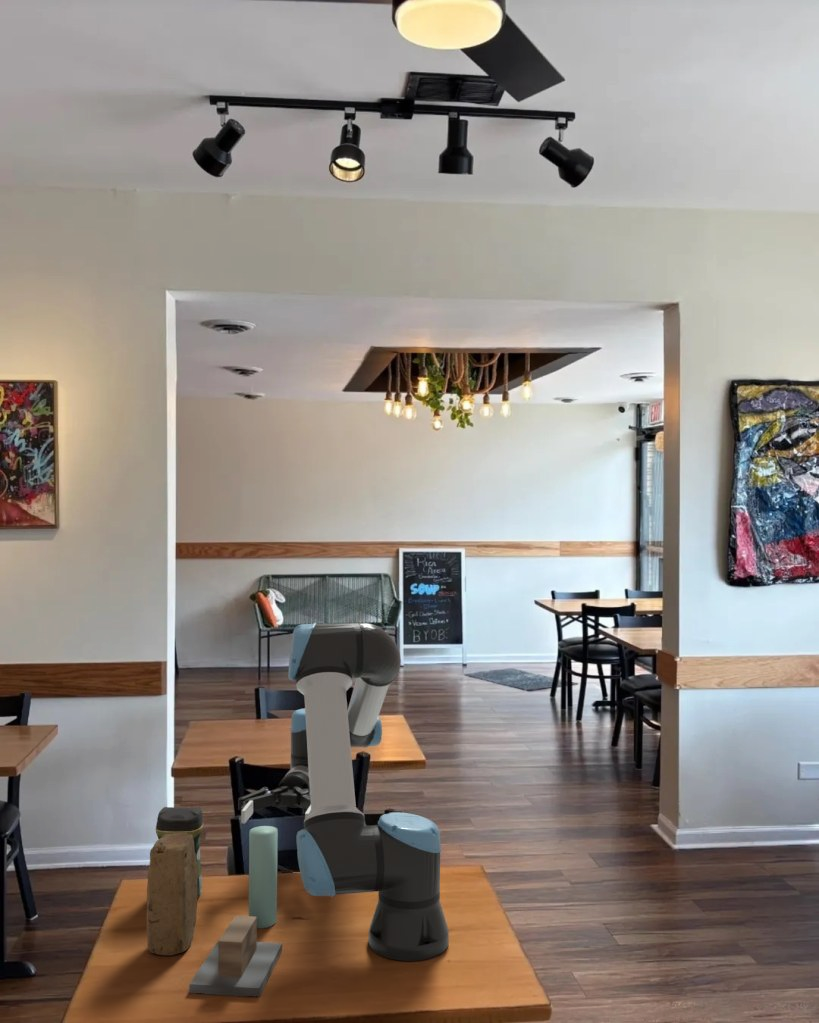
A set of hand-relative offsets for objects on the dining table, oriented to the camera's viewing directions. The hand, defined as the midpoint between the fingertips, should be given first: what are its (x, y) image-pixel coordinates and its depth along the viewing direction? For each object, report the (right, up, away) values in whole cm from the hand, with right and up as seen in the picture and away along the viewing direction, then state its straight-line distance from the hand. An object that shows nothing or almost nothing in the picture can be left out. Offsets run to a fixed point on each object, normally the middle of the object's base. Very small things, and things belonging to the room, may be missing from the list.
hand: (274, 818), depth 188 cm
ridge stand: (-2, -17, -30) cm, 35 cm away
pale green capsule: (-1, -17, -11) cm, 20 cm away
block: (-16, -17, -21) cm, 31 cm away
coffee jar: (-20, -17, +1) cm, 26 cm away
